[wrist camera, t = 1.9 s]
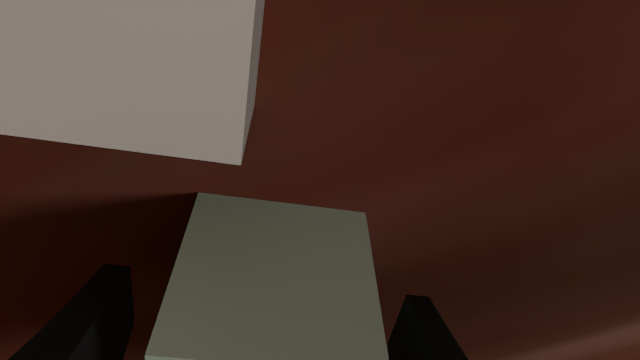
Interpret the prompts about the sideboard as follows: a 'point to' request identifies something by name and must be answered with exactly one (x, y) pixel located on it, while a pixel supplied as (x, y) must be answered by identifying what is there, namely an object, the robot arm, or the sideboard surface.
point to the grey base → (132, 74)
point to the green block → (270, 285)
